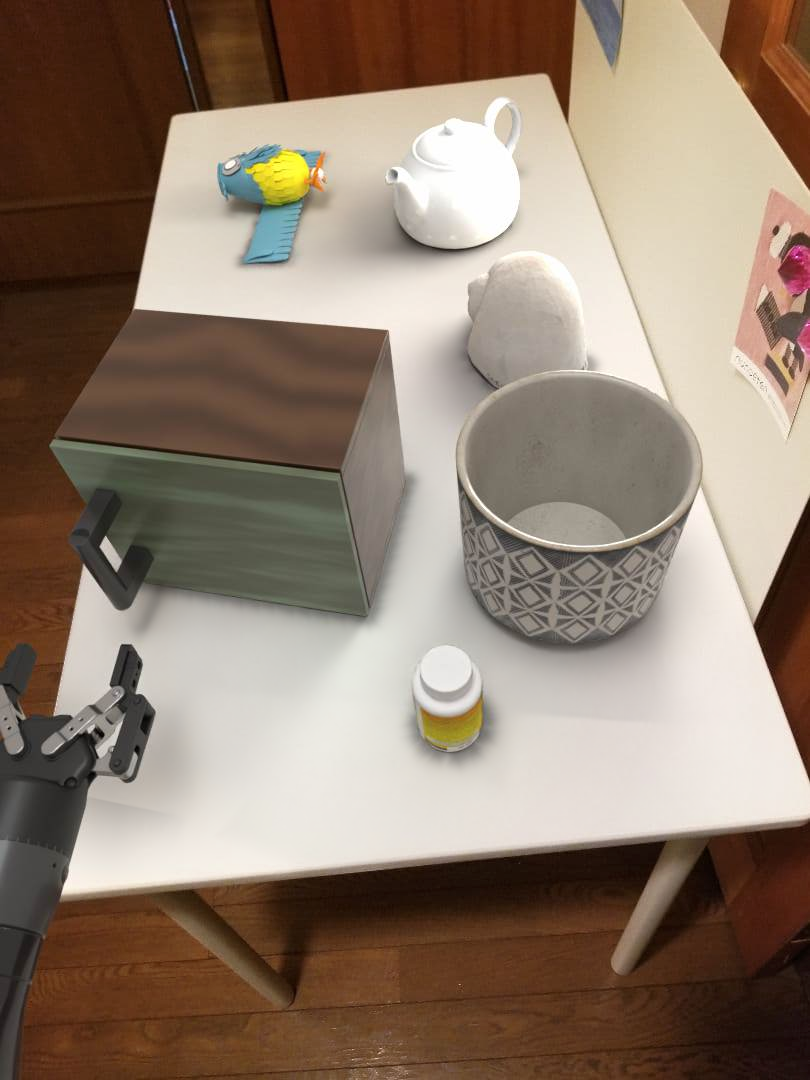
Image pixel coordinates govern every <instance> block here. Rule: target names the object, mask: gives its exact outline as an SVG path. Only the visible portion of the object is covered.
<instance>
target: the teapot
mask: <svg viewBox="0 0 810 1080" xmlns="http://www.w3.org/2000/svg"><path fill="white" fill-rule="evenodd" d="M505 106H506V107H507V109H509V111H510V114H511V129H510V132H509V136H508V139H507V140H506V143H505V145H504V144H503V143H502V142H501V141H500V140H499V139H498V138H497V136H496V134H495V131H494V127H495V126H494V125H495V120H496V118H497V115H498V114H499V112H500V111H501V110H502V109H503V107H505ZM482 122H483V124H479V123H476V122H472V121H462V120H461V119H459V118H449V119H448V120H446V121H445V122H444V123H442V124H438V125H436V126H433V127H430V128H429V129H427V130H424V131H423V132H422V133H420V134H419V135H418V136H417V137H416V138H415V140H414V141H413V143H412V145H411V147H409V149H408V151H407V152H406V153H405V155H404V157H402V159H401V162H400V164H399V166H394V167H391V168H389V169H388V170H387V171H386V172H385V175H384V182H385V183H386V184H387V186H393V206H394V210H395V211H394V212H395V214H396V217H397V220H398V223H399V224H400V226H401V227H402V229H403V230H404V231H405V232H406V234H408V235H409V236H410V237H411V238H412V239H414V240H415V241H416V242H419V243H421V244H422V245H425V246H429V247H434V248H437V249H447V250H459V249H469V248H473V247H477V246H480V245H483V244H486V243H488V242H490V241H492V240H494V239H495V238H497V237H499V236H500V235H501V234H502V233H504V232H505V231H506V230H507V229H508V227H509V226H510V225H511V224H512V222H513V221H514V219H515V217H516V215H517V211H518V208H519V202H520V179H519V173H518V169H517V166H516V164H515V162H514V160H513V157H512V156H513V155H514V152H515V150H516V148H517V146H518V143H519V141H520V139H521V135H522V131H523V116H522V112H521V109H520V108H519V105H518V104H517V103H516V101H515V100H513V99H512V98H510V97H507V96H499V97H497V98H496V99H493V101H492V102H491V103H490V105H489V106H488V107H487V109H486V112H485V114H484V118H483V121H482Z"/></svg>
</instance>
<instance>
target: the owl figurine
mask: <svg viewBox="0 0 810 1080" xmlns="http://www.w3.org/2000/svg"><path fill="white" fill-rule="evenodd" d="M281 146H282V144H279V143H274V144H273V145H270V144H269V143H267V144H264V145H263V146H262V147H259V146H256V147H255V148H253V149H252V150H251V151H249V152H248V153H247V152H246V151H245V152H242V153H241V154H240V153H239V154H236V155H233V156H231V157H229V158H227V160H226V161H224V162H222V163H221V162H218V163H217V166H216V167H217V169H216V177H217V183H218V187H219V190H220V194H221V195H222V196H223V197H224V198H225V201H226V202H229V201H230V200H229V199H230V198H229V196H233V197H235V198H238V199H242V200H245V201H248V202H252V203H257V204H261V205H262V208H261V212H260V215H259V218H258V220H257V224H256V226H255V227H256V228H255V230H254V232H253V233H254V234H253V236H252V240H251V243H250V246H249V249H248V252H247V253H245V255H243V263H242V264H244V265H246V264H247V265H248V264H256V263H257V264H260V263H261V264H266V263H271V262H281V261H285V260H288V258H289V257H290V256H289V254H288V253H290V252H291V251H292V247H290V246H291V245H292V244H293V243H294V241H293V240H292V239H293V238H294V237H295V234H294V232H296V231H297V228H296V226H297V225H298V223H299V222H298V220H299V219H300V215H299V214H300V213H301V212H302V210H301V208H303V206H304V205H303V202H304V201H305V198H304V196H305V195H307V194H308V192H309V191H310V186H312V187H314V188H315V189H316V190H318V191H320V192H326V190H325V189H324V187H323V186H322V185H321V183H320V182H323V183H324V184H326V185H327V184H328V183H327V181H326V180H327V179H326V178H325V174H324V170H323V169H322V168H323V166H324V165H323V160H324V158H325V156H326V151H323V152H322V151H321V150H320V151H319V150H315V151H306V150H305V149H292V150H290V149H288V148H283V147H281ZM258 147H259V148H258Z"/></svg>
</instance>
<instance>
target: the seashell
mask: <svg viewBox="0 0 810 1080" xmlns="http://www.w3.org/2000/svg"><path fill="white" fill-rule="evenodd" d="M467 296H468V300H467V312H468V313H467V314H468V316H469V318H470V320H471V321H472V323H473V325H472V328H471V332H470V333H469V334H470V335H469V337H468V341H467V354H468V357H469V358H470V361H471V363H472V365H473V366H474V367H475V368H476V369H477V370H478V371H479V372H480V374H482V376H483V377H484V378H485V379H486V380H487V381H488V382H489V383H490V384H491V385H492V386H493V387H495V388H497V389H500V388H501V387H503V386H505V385H507V384H509V383H512V382H514V381H516V380H519V379H522V378H525V377H528V376H531V375H535V374H540V373H545V372H552V371H563V370H582V371H588V368H589V362H588V357H587V349H586V348H587V347H586V335H585V332H586V331H585V330H586V329H585V320H584V319H585V318H584V312H583V311H584V310H583V305H582V301H581V297H580V293H579V289H578V287H577V285H576V283H575V281H574V279H573V277H572V275H571V274H570V272H569V271H568V269H567V268H566V267H565V265H564V264H563V263H561V262H560V261H559V260H558V259H556V258H555V257H553V256H551V255H548V254H546V253H542V252H538V251H534V250H526V251H525V250H523V251H522V250H521V251H516V252H513V253H509V254H507V255H504V256H502V257H501V258H499V259H498V260H497V261H495V262H494V263H493V264H492V266H491V267H490V269H488V271H487V272H486V273H482V274H480V275H477V276H476V277H475V278H474V279H473V280H471V281H470V282H469V283H468V284H467Z"/></svg>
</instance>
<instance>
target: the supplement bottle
mask: <svg viewBox="0 0 810 1080" xmlns="http://www.w3.org/2000/svg"><path fill="white" fill-rule="evenodd" d="M411 676H412V677H411V693H412V699H413V706H414V712H415V717H416V724H417V729H418V731H419V734H420V735H421V737H422V739H423V740H424V741H425V742H426V743H427V744H428V745H429V746H431V747H432V748H433V749H436V750H439V751H441V752H446V753H450V752H451V753H453V752H454V753H455V752H459V751H462V750H465V749H467V748H468V747H470V746H471V745H472V744H473V743H474V742H475V741H476V740H477V739H478V738H479V736H480V734H481V731H482V728H483V721H484V717H483V716H484V715H483V714H484V713H483V712H484V710H483V709H484V708H483V707H484V705H483V704H484V703H483V702H484V701H483V699H484V698H483V695H484V694H483V693H484V691H483V690H484V689H483V688H484V685H483V684H484V683H483V677H482V673H481V670H480V668H479V666H478V665H477V664H476V663H475V661H474V660H473V659H472V658H470V657H469V655H468V654H467V653H466V652H465V651H464V650H463V649H462V648H459V647H458V646H454V645H449V644H443V645H438V646H435V647H433V648H431V649H430V650H428V651H426V653H425V654H424V655H423V657H422V659H421V660H420V661H419V663H418V664H417V666H416V667H415V668H414V671H413V674H412V675H411Z"/></svg>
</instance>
